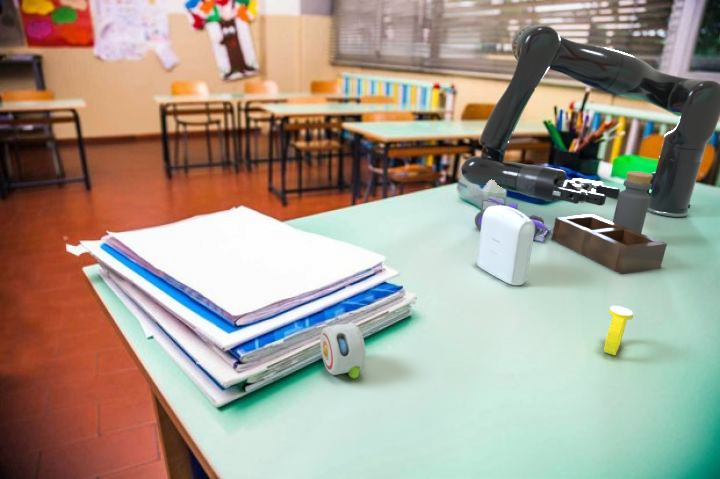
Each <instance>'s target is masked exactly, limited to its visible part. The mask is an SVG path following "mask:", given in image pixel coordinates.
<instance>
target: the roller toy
mask: <svg viewBox="0 0 720 479" xmlns="http://www.w3.org/2000/svg"><path fill="white" fill-rule="evenodd" d="M319 342H320V343H319V345H320V353H321V358H322V361H323V364H324V367H325V369H326V370H327V372H328V373H329V374H331V375H334V376H337V375H341V374H348V376H349V377H350V378H351V379H356V378H357V379H358V378H359V375H360V370H362V369H363V367H364V365H365V363H366V354H367V352H366V344H365V339H364V336H363V334H362V331H361V329H360V328H359V326H358V325H357V324H355V323H353V322H347V323H345V324H333V325H329V326H325V327H324V328H323V329H322V330H321V333H320V338H319Z"/></svg>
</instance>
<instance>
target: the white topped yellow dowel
mask: <svg viewBox="0 0 720 479" xmlns="http://www.w3.org/2000/svg"><path fill="white" fill-rule="evenodd" d="M608 310H609V311H608V314H609V315H610V316H612V318H611V322H610V324H609V326H608V327H609V328H608V330H607V334H606V338H605V342H604V347H603V352H604V353H606V354H609V355H612V356H616V354H617V352H618V350H619V348H620V345H621V342H622V339H623V335H624V332H625V328H626V324H627V321H630V320H632V319H633V317H634V312H633V311H632V310H631V309H629V308H627V307H624V306H621V305H612V306H609V309H608Z"/></svg>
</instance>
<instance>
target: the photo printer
mask: <svg viewBox="0 0 720 479" xmlns="http://www.w3.org/2000/svg"><path fill="white" fill-rule="evenodd" d="M534 232H535V226H534V223H533V222H532V221H531V220H530V219H529V217H528V216H527V215H526V214H525V213H524V212H522V211H520V210H518V209H517V210H516V209H514V208H511V207H508V205H506V206H502V205H496V206H490V207H488V208H487V209H486V210H485V211H484V214H483V217H482V224H481V230H480V234H479V242H478V248H477V258H476V265H477V266H478V268H480V269H482V270H483V271H485V272H486V273H489V274H490V275H492V276H494V277H495V278H497V279H499V280H501V281H502V282H505V283H506V284H508V285H512V286H521V285H524V284H525V282H526V281H527V280H528V274H529V268H530V262H531V257H532V250H533V243H534V238H535V236H534Z"/></svg>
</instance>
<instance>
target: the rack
mask: <svg viewBox="0 0 720 479" xmlns="http://www.w3.org/2000/svg"><path fill="white" fill-rule="evenodd" d="M551 240H552V241H553V242H555V243H558V244H560V245H562V246H564V247H566V248H568V249H570V250H571V251H574V252H576V253H578V254H579V255H582V256H584V257H585V258H587V259H590V260H592V261H594V262H596V263H597V264H600V265H602V266H604V267H606V268H608V269H610V270H611V271H614V272H616V273H619V274H620V275H624V274H631V273H637V272H645V271H650V270H657V269H661V267H662V264H663V261H664V258H665V253H666V250H667V246H668V243H666V242H664V241H662V240H659V239H656V238H654V237H651V236H649V235H646V234H643V233H638V232H636V231H633V230H631V229H628V228H626V227H623V226H621V225H618V224H616V223H613V221H610V220H608V219H605V218H603V217H600V216H597V215H595V214H593V213H590V214H589V213H588V214H580V215H579V214H578V215H569V216H557V217H555V219H554V224H553V230H552V235H551Z"/></svg>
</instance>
